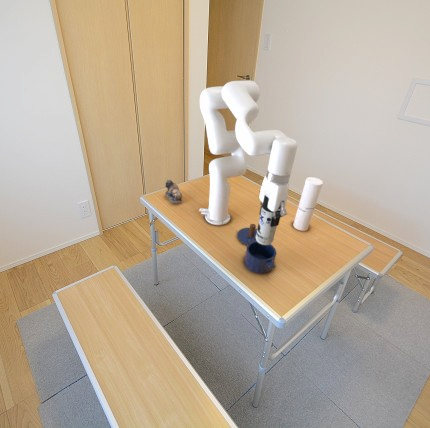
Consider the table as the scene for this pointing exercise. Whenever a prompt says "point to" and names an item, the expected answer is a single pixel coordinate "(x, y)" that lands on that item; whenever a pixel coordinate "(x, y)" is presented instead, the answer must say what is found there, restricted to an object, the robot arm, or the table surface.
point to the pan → (259, 257)
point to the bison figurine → (173, 192)
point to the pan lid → (247, 234)
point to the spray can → (265, 225)
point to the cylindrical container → (307, 203)
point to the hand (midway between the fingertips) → (268, 219)
